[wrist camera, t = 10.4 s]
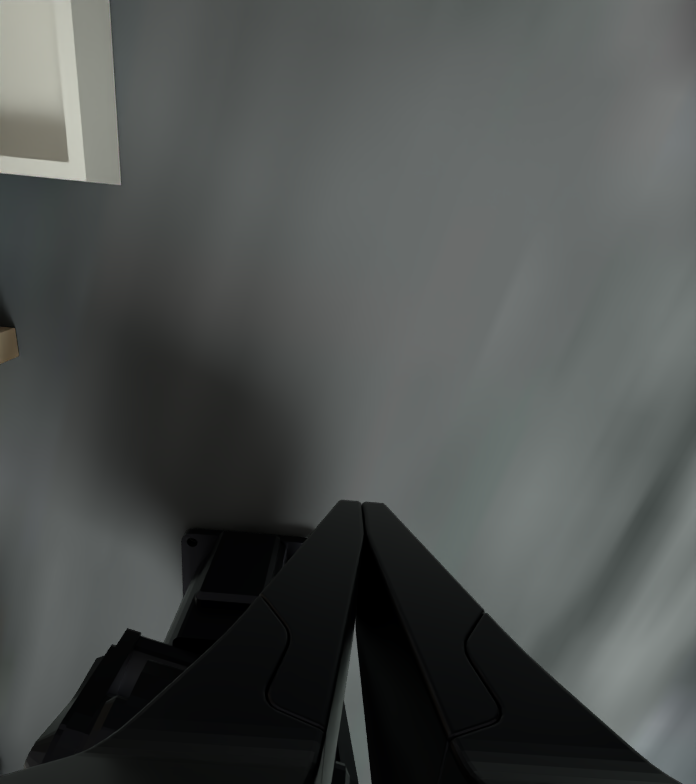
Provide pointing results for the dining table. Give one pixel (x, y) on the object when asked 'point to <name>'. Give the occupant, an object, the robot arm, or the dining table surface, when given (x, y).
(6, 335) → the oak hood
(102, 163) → the shell lid
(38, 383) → the dining table surface
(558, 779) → the robot arm
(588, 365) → the dining table surface
